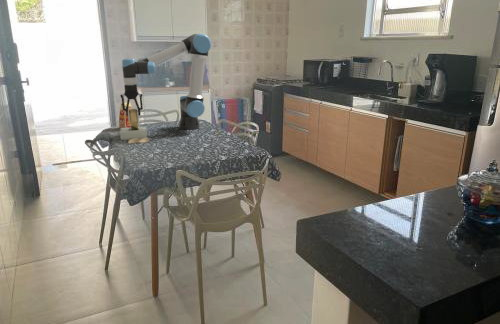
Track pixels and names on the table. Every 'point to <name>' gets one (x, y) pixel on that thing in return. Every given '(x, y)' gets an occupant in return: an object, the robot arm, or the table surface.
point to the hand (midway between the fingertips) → (134, 120)
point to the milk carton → (124, 117)
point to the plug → (133, 119)
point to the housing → (133, 133)
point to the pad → (138, 140)
